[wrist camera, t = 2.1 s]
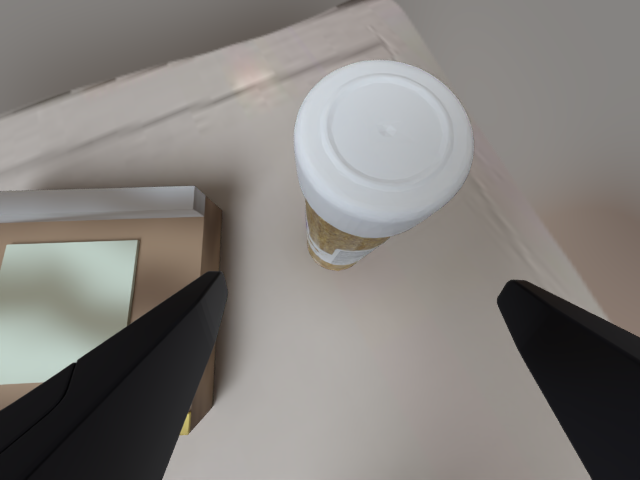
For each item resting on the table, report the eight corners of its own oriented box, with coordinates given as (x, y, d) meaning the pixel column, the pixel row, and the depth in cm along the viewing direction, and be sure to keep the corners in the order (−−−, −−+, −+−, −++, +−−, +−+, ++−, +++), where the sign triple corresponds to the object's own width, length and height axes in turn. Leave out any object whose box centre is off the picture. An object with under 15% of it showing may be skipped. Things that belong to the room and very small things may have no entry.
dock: (212, 407, 16) (174, 450, 12) (-37, 422, 15) (-176, 472, 11) (222, 210, 19) (194, 185, 15) (14, 216, 19) (-79, 193, 14)
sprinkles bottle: (302, 220, 19) (278, 60, 6) (358, 211, 19) (450, 40, 6) (312, 276, 18) (309, 235, 5) (370, 266, 18) (511, 201, 5)
